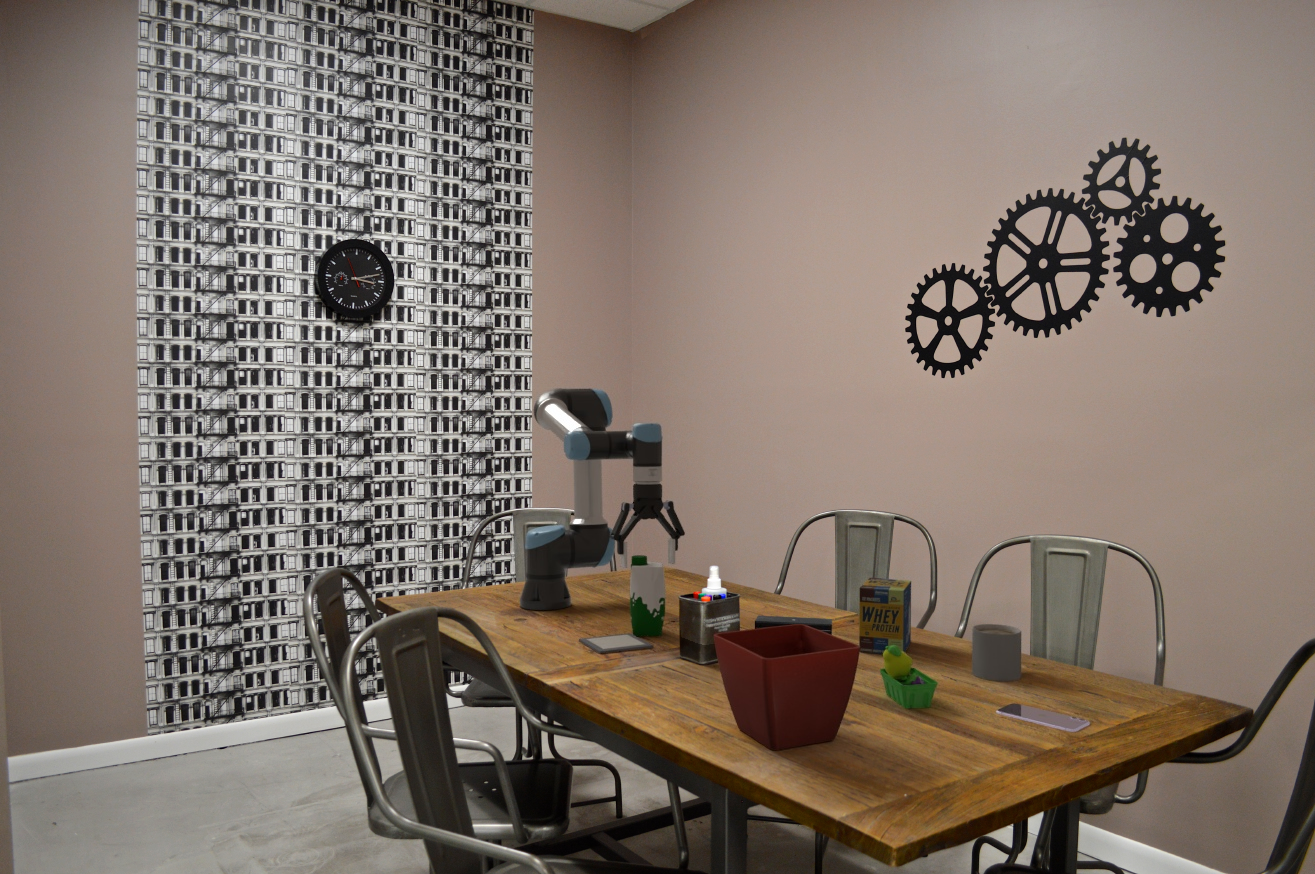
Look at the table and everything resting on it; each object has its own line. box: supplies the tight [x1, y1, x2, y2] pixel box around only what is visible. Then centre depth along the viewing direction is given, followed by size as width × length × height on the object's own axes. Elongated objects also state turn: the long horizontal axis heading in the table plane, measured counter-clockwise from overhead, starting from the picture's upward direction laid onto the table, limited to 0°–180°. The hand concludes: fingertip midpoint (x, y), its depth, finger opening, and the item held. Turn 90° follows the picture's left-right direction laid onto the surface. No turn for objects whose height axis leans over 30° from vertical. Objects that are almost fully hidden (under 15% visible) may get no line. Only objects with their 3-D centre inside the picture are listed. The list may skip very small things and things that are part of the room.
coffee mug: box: [971, 623, 1022, 683], centre depth 200 cm, size 13×10×10 cm
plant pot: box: [713, 623, 861, 751], centre depth 161 cm, size 19×19×17 cm
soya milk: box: [629, 554, 666, 638], centre depth 238 cm, size 9×9×20 cm
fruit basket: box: [879, 645, 938, 710], centre depth 181 cm, size 11×9×11 cm
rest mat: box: [578, 633, 654, 655], centre depth 227 cm, size 14×14×1 cm
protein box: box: [858, 577, 912, 655], centre depth 224 cm, size 10×15×16 cm
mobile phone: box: [995, 703, 1091, 733], centre depth 171 cm, size 8×1×15 cm
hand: (648, 565), depth 238 cm, fingers open, 13 cm apart
